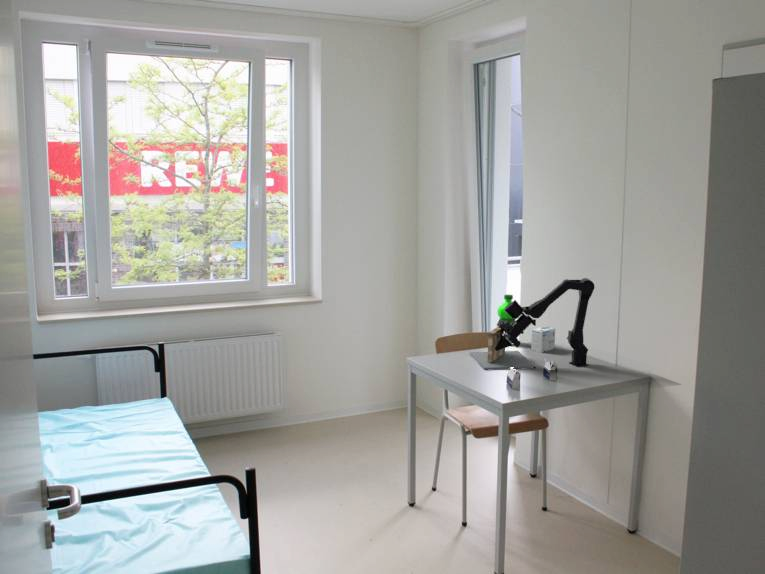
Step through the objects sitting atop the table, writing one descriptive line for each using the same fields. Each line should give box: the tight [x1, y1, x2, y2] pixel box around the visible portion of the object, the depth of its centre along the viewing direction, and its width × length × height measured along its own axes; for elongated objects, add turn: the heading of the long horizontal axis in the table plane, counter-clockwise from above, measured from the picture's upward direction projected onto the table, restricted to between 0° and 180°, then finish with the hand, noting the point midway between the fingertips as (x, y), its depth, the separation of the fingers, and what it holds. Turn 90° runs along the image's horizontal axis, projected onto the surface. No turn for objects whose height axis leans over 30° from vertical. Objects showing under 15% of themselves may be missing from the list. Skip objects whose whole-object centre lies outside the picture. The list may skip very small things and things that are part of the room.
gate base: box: [469, 348, 537, 370], centre depth 315 cm, size 24×26×16 cm
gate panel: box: [487, 326, 503, 362], centre depth 315 cm, size 17×3×13 cm, turn 152°
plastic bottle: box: [497, 294, 516, 323], centre depth 346 cm, size 10×10×25 cm
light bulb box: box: [530, 325, 556, 353], centre depth 336 cm, size 11×7×11 cm, turn 130°
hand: (495, 350), depth 311 cm, fingers closed
